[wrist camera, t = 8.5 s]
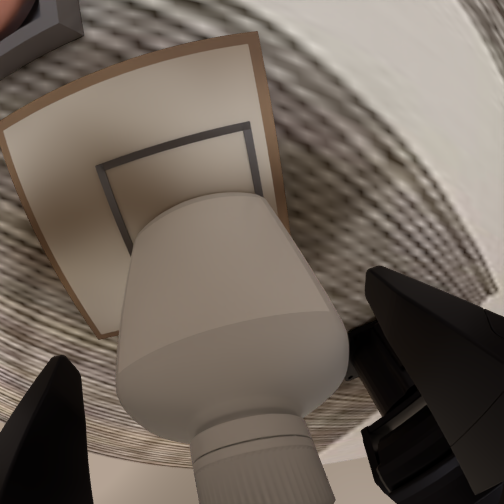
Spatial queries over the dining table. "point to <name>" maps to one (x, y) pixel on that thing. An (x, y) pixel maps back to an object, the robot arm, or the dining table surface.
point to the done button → (13, 15)
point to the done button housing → (40, 33)
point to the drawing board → (139, 157)
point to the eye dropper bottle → (230, 348)
